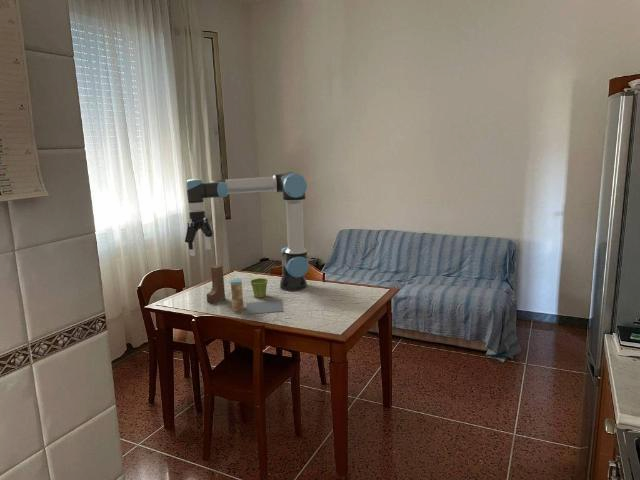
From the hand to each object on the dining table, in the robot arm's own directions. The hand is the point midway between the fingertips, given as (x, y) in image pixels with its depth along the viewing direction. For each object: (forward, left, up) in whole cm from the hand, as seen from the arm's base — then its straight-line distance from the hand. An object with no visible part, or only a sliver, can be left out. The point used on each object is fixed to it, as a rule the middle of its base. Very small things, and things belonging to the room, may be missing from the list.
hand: (200, 252), depth 236 cm
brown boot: (-5, -4, -28) cm, 29 cm away
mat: (-30, +13, -28) cm, 43 cm away
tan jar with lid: (-17, +13, -28) cm, 35 cm away
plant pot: (-28, -5, -28) cm, 40 cm away
